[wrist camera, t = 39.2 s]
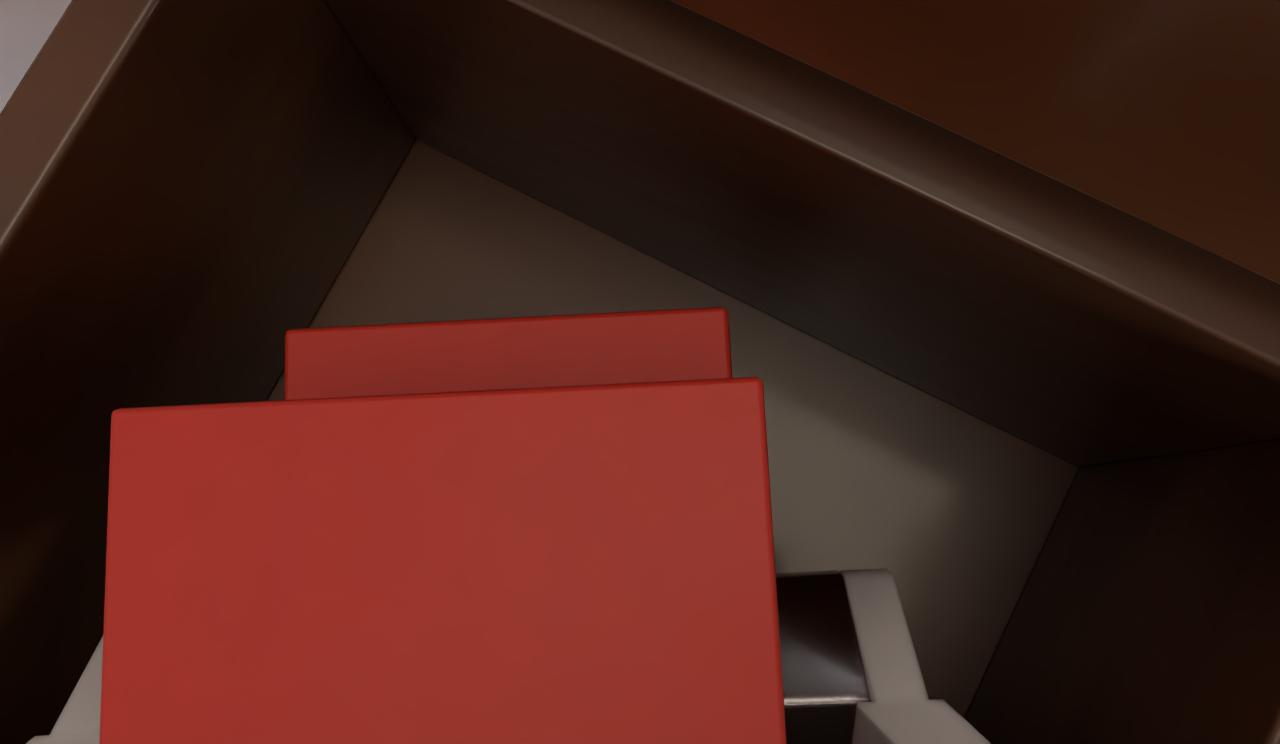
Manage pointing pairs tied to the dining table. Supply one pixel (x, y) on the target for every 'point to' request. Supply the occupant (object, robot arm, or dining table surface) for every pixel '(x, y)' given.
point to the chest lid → (1076, 94)
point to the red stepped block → (452, 544)
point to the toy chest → (659, 280)
